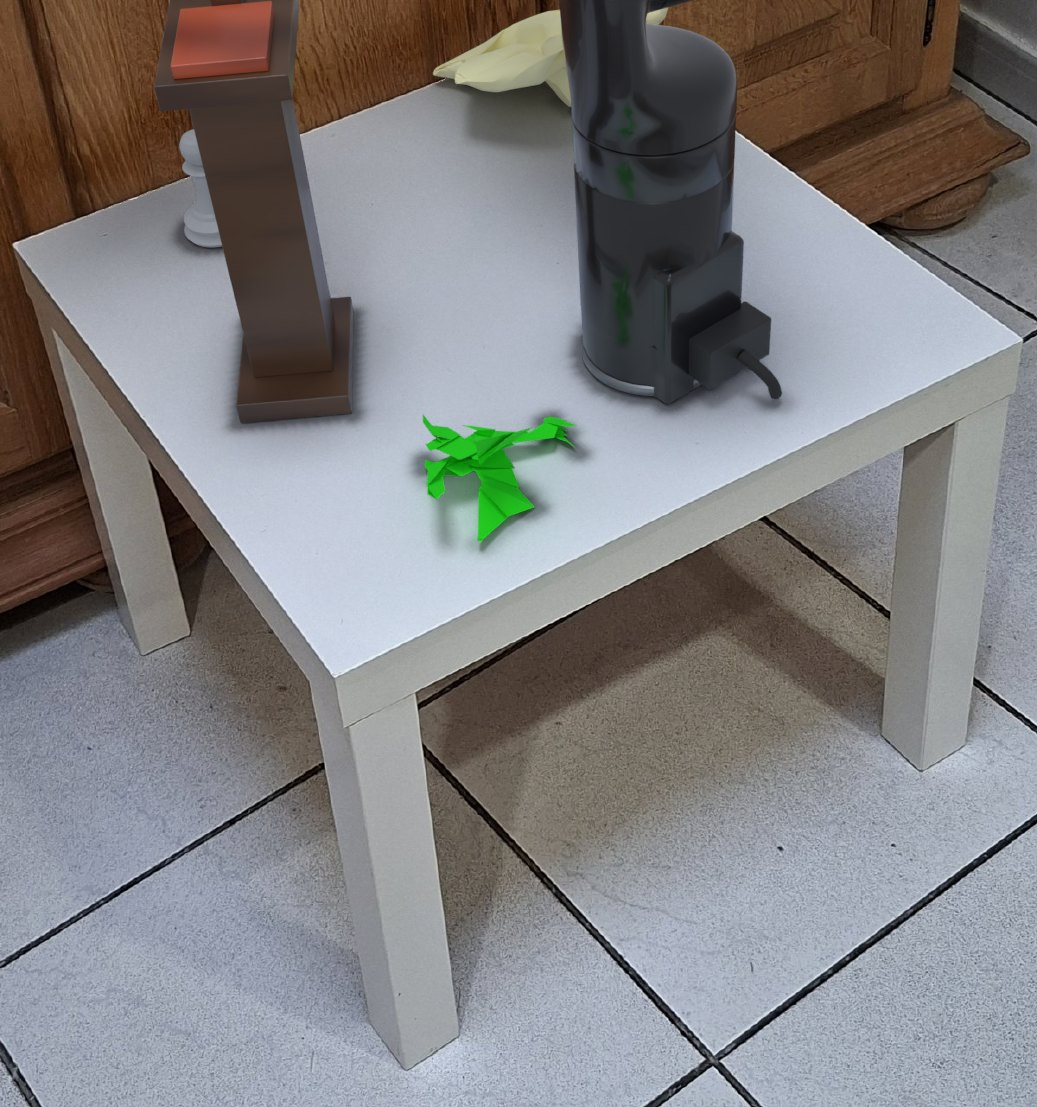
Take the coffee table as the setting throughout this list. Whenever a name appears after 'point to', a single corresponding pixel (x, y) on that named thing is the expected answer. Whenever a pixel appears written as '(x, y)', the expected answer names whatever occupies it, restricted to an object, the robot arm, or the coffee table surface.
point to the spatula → (223, 39)
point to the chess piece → (198, 197)
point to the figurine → (486, 466)
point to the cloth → (520, 57)
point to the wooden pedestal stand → (267, 228)
